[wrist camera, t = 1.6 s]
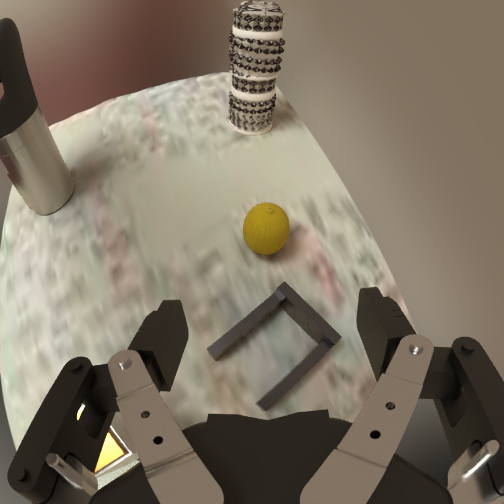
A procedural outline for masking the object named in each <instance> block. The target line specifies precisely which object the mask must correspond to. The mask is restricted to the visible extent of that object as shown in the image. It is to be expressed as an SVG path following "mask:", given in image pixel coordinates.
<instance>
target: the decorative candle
mask: <svg viewBox="0 0 504 504" xmlns="http://www.w3.org/2000/svg"><path fill="white" fill-rule="evenodd" d="M233 11H235V16H234V25H233V31H231V32H232V33H230V34H231V35H229V39H228V41H229V42H231V45H230V46H229V49H230V50H229V52H230V54H229V60H231V63H230V72H231V74H232V84H231V91H230V94H229V97H230V102H229V104H230V106H229V120H230V121H229V125H230V127H231V129H233V130H234V131H236V132H237V133H240V134H244V135H253V136H254V135H261V134H264V133H266V132H268V131H269V130H270V129H271V128H272V121H273V120H274V119H273V118H272V117H273V115H274V112H273V111H274V108H273V107H275V100H276V94H275V79H276V77H277V76H278V75H279V70H280V69H281V68H280V65H278V64H279V63H280V62H282V59H281V58H280V57H279V56H278V54H281V53H282V52H284V50H283V48H282V47H281V46H282V45H284V44H285V41H284V40H283V39H281V37H282V31H283V29H282V22H283V15H285V12H283V11H282V10H281V9H280V7H279V5H278V4H275V3H273V2H267V1H244V2H242V3H241V4H240V5H239V7H238V8H235V9H233ZM233 37H234V41H233ZM233 56H234V58H233Z"/></svg>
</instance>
